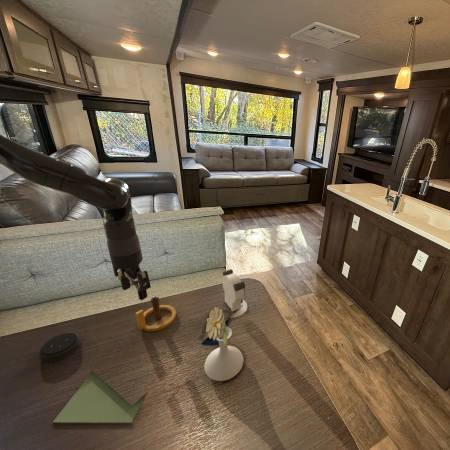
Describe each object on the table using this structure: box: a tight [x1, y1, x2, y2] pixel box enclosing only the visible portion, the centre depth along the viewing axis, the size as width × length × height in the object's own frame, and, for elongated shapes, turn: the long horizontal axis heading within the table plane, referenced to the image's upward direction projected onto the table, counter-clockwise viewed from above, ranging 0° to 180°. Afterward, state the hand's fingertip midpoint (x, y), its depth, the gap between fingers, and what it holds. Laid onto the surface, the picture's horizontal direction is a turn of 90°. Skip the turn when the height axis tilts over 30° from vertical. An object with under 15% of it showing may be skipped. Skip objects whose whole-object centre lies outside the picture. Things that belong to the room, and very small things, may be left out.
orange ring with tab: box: [134, 304, 177, 332], centre depth 86 cm, size 11×12×8 cm
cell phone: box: [200, 317, 231, 346], centre depth 88 cm, size 7×14×1 cm, turn 4°
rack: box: [148, 295, 172, 326], centre depth 87 cm, size 8×8×11 cm
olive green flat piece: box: [52, 370, 149, 424], centre depth 65 cm, size 18×13×1 cm
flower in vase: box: [204, 307, 244, 382], centre depth 70 cm, size 13×11×25 cm
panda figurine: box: [222, 268, 248, 319], centre depth 95 cm, size 12×11×15 cm
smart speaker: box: [38, 331, 82, 363], centre depth 74 cm, size 9×9×4 cm
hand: (135, 293), depth 78 cm, fingers open, 8 cm apart
